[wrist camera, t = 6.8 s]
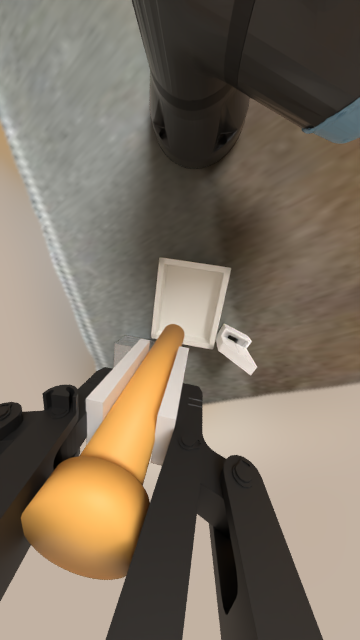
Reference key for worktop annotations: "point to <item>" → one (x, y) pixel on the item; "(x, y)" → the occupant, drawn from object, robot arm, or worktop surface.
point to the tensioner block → (126, 347)
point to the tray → (190, 300)
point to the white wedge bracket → (235, 348)
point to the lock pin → (105, 479)
